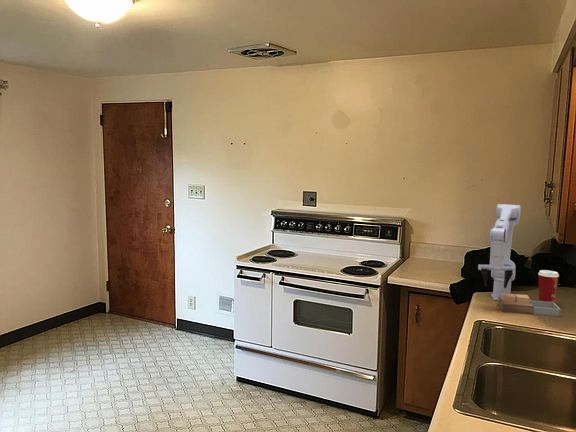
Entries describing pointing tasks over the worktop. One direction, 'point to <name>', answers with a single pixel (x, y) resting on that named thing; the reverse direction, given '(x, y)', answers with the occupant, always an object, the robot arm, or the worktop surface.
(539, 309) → the tray
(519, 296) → the tile
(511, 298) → the tile
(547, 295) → the coffee cup
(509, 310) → the board
